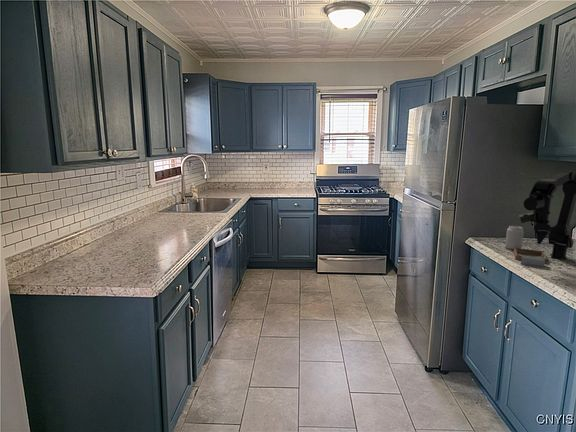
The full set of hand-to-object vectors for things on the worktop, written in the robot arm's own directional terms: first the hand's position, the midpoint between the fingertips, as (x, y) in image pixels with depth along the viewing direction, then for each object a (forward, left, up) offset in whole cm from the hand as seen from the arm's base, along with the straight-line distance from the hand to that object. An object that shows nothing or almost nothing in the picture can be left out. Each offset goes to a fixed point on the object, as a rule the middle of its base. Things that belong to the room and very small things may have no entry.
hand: (537, 241), depth 170 cm
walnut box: (-11, -1, -11) cm, 16 cm away
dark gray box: (+1, -1, -11) cm, 11 cm away
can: (-25, -8, -11) cm, 28 cm away
